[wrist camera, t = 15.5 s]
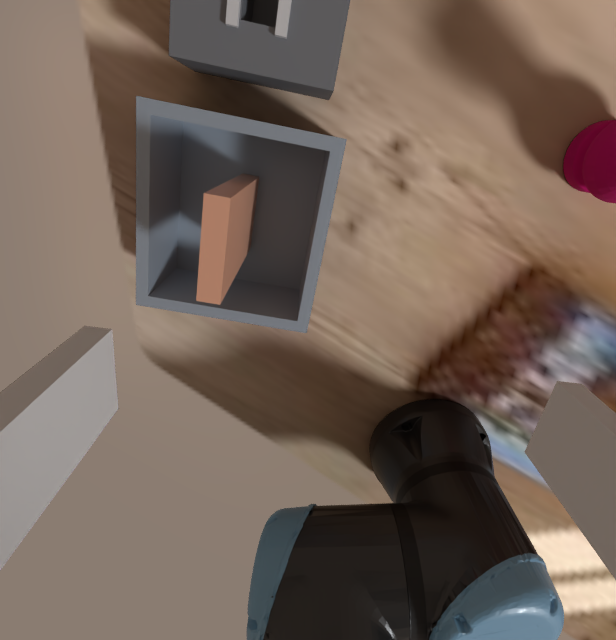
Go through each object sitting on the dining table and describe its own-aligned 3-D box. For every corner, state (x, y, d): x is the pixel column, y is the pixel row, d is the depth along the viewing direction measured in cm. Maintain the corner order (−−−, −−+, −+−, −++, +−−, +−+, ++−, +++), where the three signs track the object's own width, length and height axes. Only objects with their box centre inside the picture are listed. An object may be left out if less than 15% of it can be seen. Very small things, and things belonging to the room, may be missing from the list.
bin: (306, 296, 43) (306, 333, 35) (169, 272, 42) (136, 304, 34) (337, 139, 36) (346, 139, 28) (176, 106, 35) (136, 95, 27)
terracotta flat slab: (250, 248, 40) (220, 304, 26) (234, 245, 40) (196, 300, 26) (259, 176, 37) (230, 198, 23) (242, 173, 37) (203, 192, 23)
